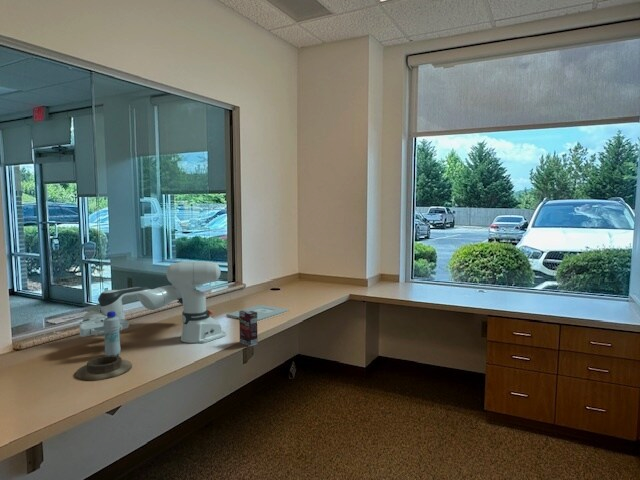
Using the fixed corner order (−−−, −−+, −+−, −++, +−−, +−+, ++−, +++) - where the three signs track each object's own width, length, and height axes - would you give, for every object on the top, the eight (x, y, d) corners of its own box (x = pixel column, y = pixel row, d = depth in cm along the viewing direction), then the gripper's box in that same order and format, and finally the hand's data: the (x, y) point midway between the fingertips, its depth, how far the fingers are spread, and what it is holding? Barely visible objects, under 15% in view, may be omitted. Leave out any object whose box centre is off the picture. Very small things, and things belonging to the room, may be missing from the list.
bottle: (123, 352, 188) (122, 309, 187) (117, 358, 181) (115, 313, 180) (108, 353, 188) (107, 309, 186) (101, 358, 181) (99, 313, 180)
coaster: (122, 357, 182) (121, 349, 181) (139, 370, 167) (138, 361, 167) (70, 370, 168) (69, 360, 168) (83, 385, 154) (83, 374, 153)
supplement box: (239, 342, 202) (238, 310, 201) (247, 340, 206) (246, 309, 204) (250, 346, 196) (249, 313, 195) (258, 344, 200) (257, 312, 198)
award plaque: (226, 317, 251) (226, 314, 251) (260, 307, 276) (260, 304, 276) (255, 323, 237) (255, 320, 237) (289, 313, 262) (289, 309, 262)
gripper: (123, 326, 203) (133, 333, 193) (76, 335, 189) (84, 342, 179) (122, 314, 202) (133, 319, 192) (75, 322, 188) (84, 328, 178)
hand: (109, 331), depth 185 cm, fingers open, 8 cm apart
